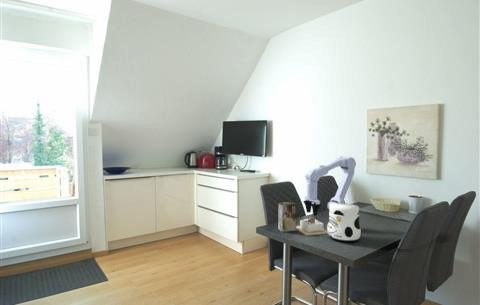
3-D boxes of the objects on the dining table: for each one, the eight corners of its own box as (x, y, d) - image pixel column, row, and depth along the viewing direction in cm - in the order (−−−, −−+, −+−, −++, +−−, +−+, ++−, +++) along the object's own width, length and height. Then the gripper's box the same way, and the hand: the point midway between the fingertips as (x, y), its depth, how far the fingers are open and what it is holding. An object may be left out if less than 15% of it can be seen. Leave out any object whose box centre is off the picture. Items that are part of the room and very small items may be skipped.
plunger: (313, 225, 188) (314, 216, 187) (320, 229, 181) (320, 219, 180) (303, 226, 186) (303, 217, 185) (309, 230, 179) (309, 220, 178)
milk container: (321, 238, 168) (321, 205, 167) (336, 231, 180) (337, 201, 179) (351, 246, 156) (352, 211, 155) (365, 238, 168) (366, 206, 167)
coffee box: (291, 227, 187) (292, 201, 187) (296, 230, 181) (296, 204, 181) (277, 228, 185) (278, 202, 184) (282, 232, 179) (282, 204, 178)
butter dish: (316, 225, 194) (316, 217, 193) (331, 233, 177) (331, 224, 177) (292, 227, 189) (293, 219, 189) (306, 235, 173) (306, 226, 173)
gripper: (300, 189, 188) (300, 211, 189) (312, 193, 174) (311, 217, 175) (310, 189, 190) (310, 210, 190) (323, 193, 176) (322, 216, 177)
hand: (311, 213), depth 183 cm, fingers open, 7 cm apart
